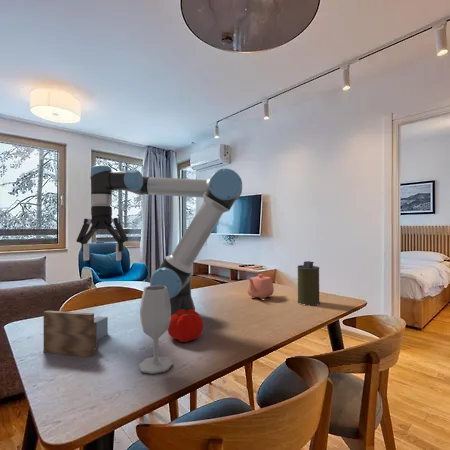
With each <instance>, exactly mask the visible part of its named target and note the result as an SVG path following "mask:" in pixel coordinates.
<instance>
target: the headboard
mask: <svg viewBox="0 0 450 450" xmlns="http://www.w3.org/2000/svg"><path fill="white" fill-rule="evenodd" d="M42 314H43V353H46V354H47V353H49V354H56V355H57V354H58V355H67V356H68V355H69V356H78V357H87V358H90V357H93V356H94V355H95V350H96V349H97V347H98V346H97V345H98V343H97V342H98V340H97V322H94V318H95V313H92V312H91V313H90V312H79V311H78V312H76V311H75V312H74V311H59V310H46V311H43V313H42Z"/></svg>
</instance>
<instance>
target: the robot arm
mask: <svg viewBox="0 0 450 450" xmlns="http://www.w3.org/2000/svg"><path fill="white" fill-rule="evenodd" d="M89 176H90V177H89V179H90V206H91V207H90V214H91V219H90V218H84V219H83V224H82V227H81V229H80V232H79V233H78V236H77V238H76V242H77V243H80V244H81V252H82V253H83V254H82V255H83V256H82V258H83V262H86V261H90V243H89V241H90V240H91V238H92V237H93V236H94V234H95V233H96V232H97V231H100V230H101V231H102V230H104V231H105V230H106V231H107V232H109V234H110V235H111V236H112V237H113V239H114V240H115V241H116V243H115V261H122V252H124V243H127V242H128V241H129V239H128V237H127V234H126V233H125V230H124V228H123V226H122V224H121V220H120V219H121V218H119V217H113V218H112V216H113V207H112V205H113V201H112V199H113V198H112V197H113V195H112V194H113V192H114V191H127V192H130V193H132V194H135V195H140V196H144V195H153V196H154V195H155V196H170V197H187V198H188V197H189V198H190V197H191V198H203V202H202V203H201V205H200V206H199V209H198V210H197V211H196V214H195V215H194V217H193V219H192V220H191V222H190V224H189V225H188V227H187V228H186V230H185V232H184V233H183V234H182V235H183V236H182V237H181V239H180V240H179V242H178V243H177V245H176V247H175V249H174V250H173V252H172V253H171V254H169V255H167V256H165V258H164V259H163V260H162V262H161V263H160V265H159V267H158V268H157V269H156V270H154V272H153V273H152V275H151V276H150V279H149V286H156V285H159V286H166V287H167V290H168V293H169V298H170V304H171V316H172V315H173V314H174V313H175V312H176V311H178V310H181V309H184V310H187V311H188V310H189V309H193V310H194V311H195V312H196V307H195V303H194V299H193V297H192V277H191V276H192V273H193V269H192V265H193V264H194V262H195V261H196V259H197V257H198V256H199V254H200V253H201V250H203V247H204V246H205V244H206V242H207V240H208V239H209V237H210V236H211V234H212V232H213V230H214V229H215V227H216V225H217V224H218V223H219V221H220V219H221V217H222V216H223V214H224V213H228V212H230V210H231V209H232V208H233V205H234V203H235V202H236V201H237V200H238V199H239V198H240V197H241V195H242V193H243V192H242V191H243V181H242V178H241V177H240V175H239V174H238V173H237V172H236V171H235V170H233V169H230V168H220V169H217V170H216V171H215V172H214V173H213V174H211V175H210V176H211V177H210V178H207V179H196V178H195V179H194V178H192V179H191V178H178V177H177V178H176V177H175V178H173V177H156V176H154V177H153V176H143V175H142V172H141V171H140V170H133V169H130V170H129V169H128V170H115V171H114V170H112V167H111V166H109V165H99V164H98V165H93V166H91V168H90V175H89ZM112 224H114V227H115V228H114V227H113V225H112ZM115 229H116V230H115Z"/></svg>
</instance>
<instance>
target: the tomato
mask: <svg viewBox="0 0 450 450" xmlns="http://www.w3.org/2000/svg"><path fill="white" fill-rule="evenodd" d="M203 331H204V322H203V318H202V317H201V316H200V314H199V313H198V312H196V310H195V311H194V310H193V309H189V310H188V311H187V310H184V309H181V310H178V311H176V312H175V313H174V314H173V315H172V316H171V320H170V325H169V329H168V330H167V332H168V335H169V336H170V338H172V339H174V340H178V341H179V342H182V343H189V342H190V341H194V340H197V339H198V338H199V337H200V336H202V333H203Z"/></svg>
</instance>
